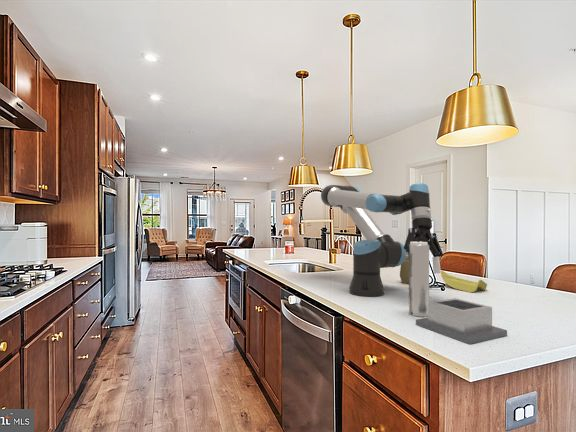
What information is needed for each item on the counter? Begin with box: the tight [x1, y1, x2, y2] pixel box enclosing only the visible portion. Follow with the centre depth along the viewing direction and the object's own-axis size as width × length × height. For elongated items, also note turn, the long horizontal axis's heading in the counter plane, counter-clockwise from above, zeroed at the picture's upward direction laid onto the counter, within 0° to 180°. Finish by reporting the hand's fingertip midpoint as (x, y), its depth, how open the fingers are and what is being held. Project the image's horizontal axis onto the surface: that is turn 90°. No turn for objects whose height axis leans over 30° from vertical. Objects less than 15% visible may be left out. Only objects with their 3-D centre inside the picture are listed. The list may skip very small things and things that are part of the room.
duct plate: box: [415, 297, 508, 345], centre depth 98 cm, size 18×16×8 cm
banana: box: [440, 270, 488, 294], centre depth 160 cm, size 20×7×10 cm
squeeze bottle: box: [399, 252, 409, 285], centre depth 171 cm, size 8×8×18 cm
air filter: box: [408, 241, 430, 318], centre depth 114 cm, size 6×6×25 cm
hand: (425, 271), depth 129 cm, fingers open, 13 cm apart
